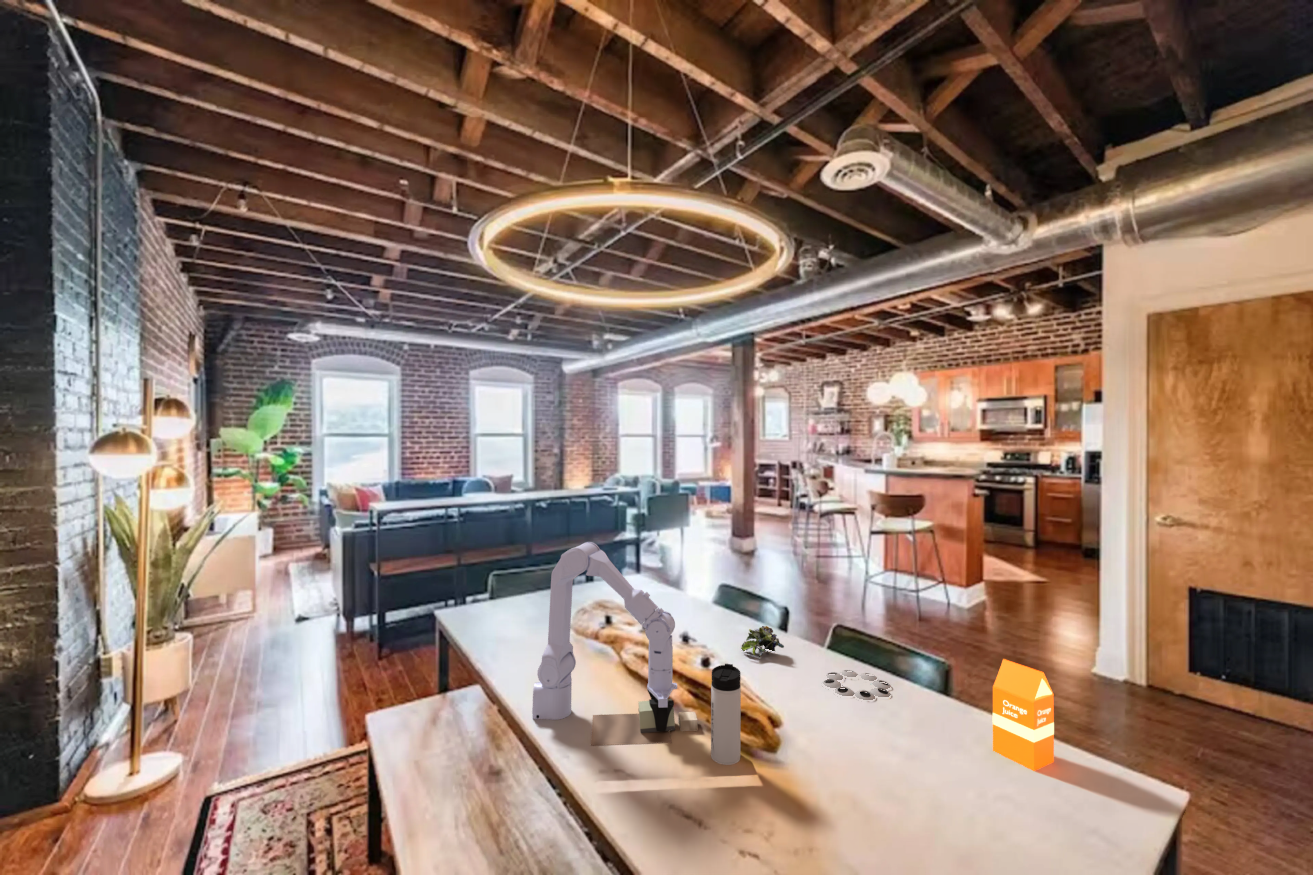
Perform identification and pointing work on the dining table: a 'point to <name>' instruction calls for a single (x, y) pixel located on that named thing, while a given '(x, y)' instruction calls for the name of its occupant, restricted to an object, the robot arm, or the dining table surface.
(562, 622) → the robot arm
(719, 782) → the dining table surface
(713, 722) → the travel mug
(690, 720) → the birch offcut
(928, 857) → the dining table surface
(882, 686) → the silver black segmented ring
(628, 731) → the walnut board
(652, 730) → the block
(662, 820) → the dining table surface
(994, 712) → the orange juice
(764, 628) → the passion flower
